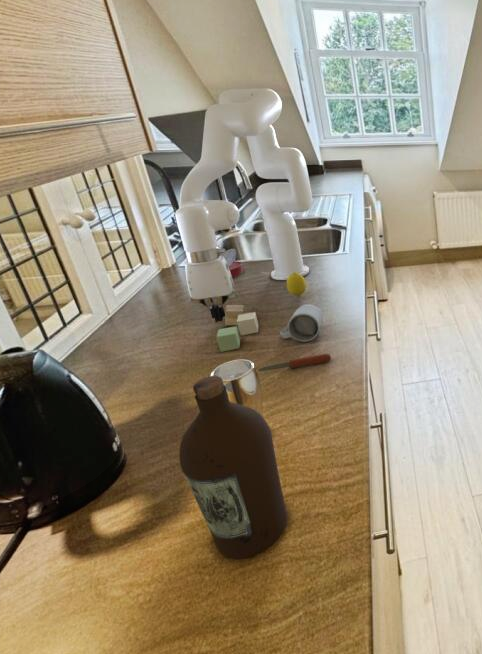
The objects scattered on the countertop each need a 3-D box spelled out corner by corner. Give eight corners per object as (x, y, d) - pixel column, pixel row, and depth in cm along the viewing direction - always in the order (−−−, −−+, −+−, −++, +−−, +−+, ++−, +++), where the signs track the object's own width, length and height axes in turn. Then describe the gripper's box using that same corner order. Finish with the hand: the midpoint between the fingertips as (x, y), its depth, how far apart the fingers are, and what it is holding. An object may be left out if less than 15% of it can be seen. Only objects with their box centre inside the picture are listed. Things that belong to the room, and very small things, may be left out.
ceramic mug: (325, 325, 121) (320, 299, 118) (321, 340, 114) (316, 313, 111) (285, 330, 120) (278, 303, 117) (278, 345, 113) (271, 318, 110)
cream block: (241, 328, 122) (238, 314, 120) (258, 325, 123) (255, 311, 121) (240, 335, 118) (236, 321, 116) (257, 332, 119) (254, 318, 118)
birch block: (225, 318, 125) (226, 304, 124) (242, 318, 127) (243, 305, 126) (225, 325, 122) (225, 311, 120) (242, 325, 124) (243, 311, 122)
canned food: (242, 287, 161) (237, 268, 154) (211, 288, 158) (204, 268, 151) (245, 263, 168) (240, 244, 160) (215, 264, 165) (209, 244, 158)
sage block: (222, 344, 114) (218, 329, 113) (240, 340, 116) (236, 326, 114) (220, 352, 111) (216, 337, 109) (239, 348, 112) (235, 333, 110)
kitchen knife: (331, 359, 106) (329, 351, 105) (331, 362, 105) (330, 354, 104) (258, 372, 102) (257, 365, 101) (258, 376, 100) (256, 368, 100)
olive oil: (241, 494, 70) (198, 356, 60) (305, 502, 69) (271, 361, 59) (193, 559, 61) (133, 407, 51) (266, 569, 59) (218, 414, 49)
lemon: (310, 293, 142) (306, 269, 139) (303, 300, 137) (298, 276, 134) (294, 292, 143) (289, 269, 140) (286, 300, 138) (280, 276, 134)
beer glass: (225, 440, 82) (203, 370, 76) (263, 421, 86) (245, 353, 80) (239, 460, 77) (217, 387, 71) (279, 439, 81) (261, 368, 75)
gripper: (236, 247, 121) (250, 309, 128) (173, 254, 117) (191, 318, 124) (233, 255, 115) (248, 320, 122) (166, 263, 110) (185, 330, 117)
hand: (219, 319), depth 123 cm, fingers closed
